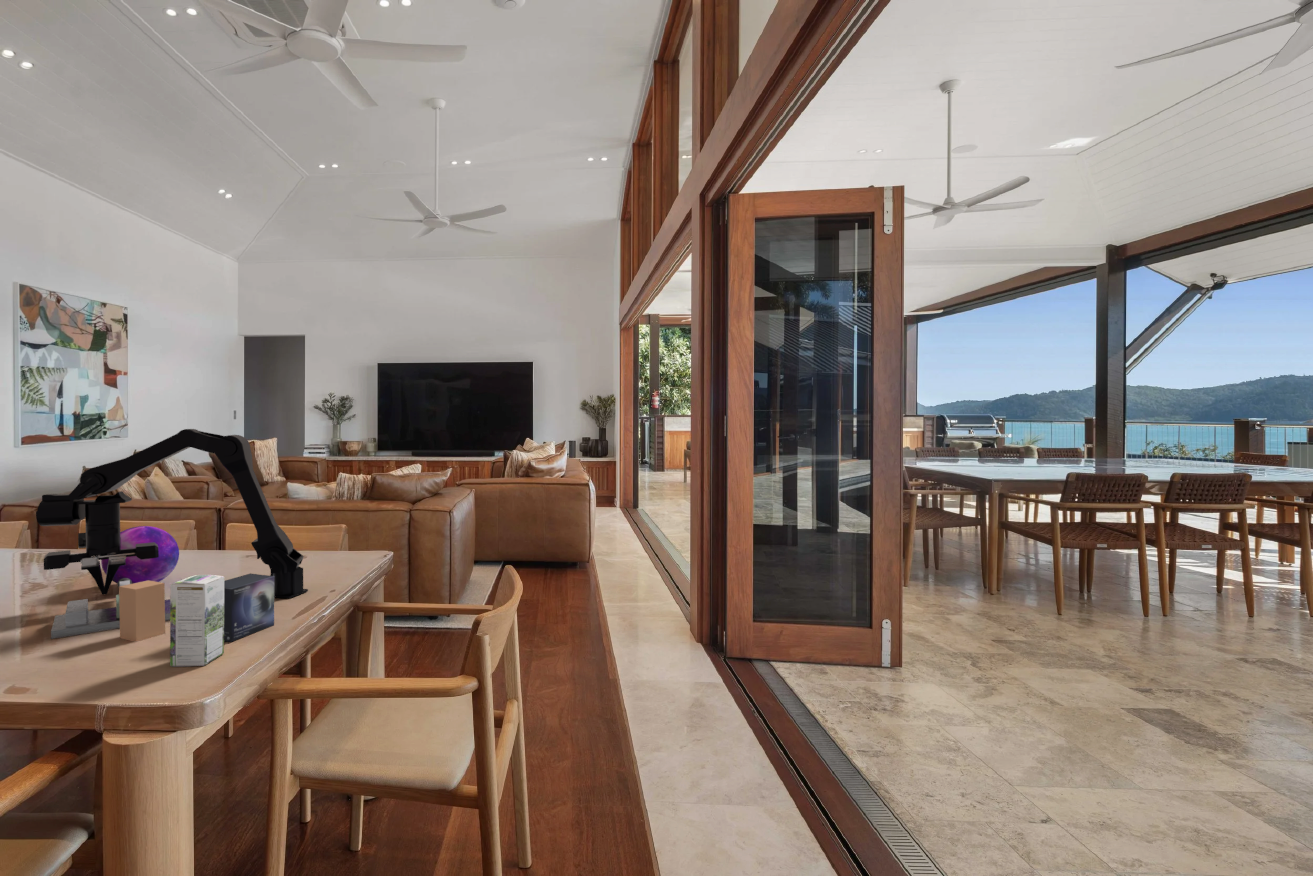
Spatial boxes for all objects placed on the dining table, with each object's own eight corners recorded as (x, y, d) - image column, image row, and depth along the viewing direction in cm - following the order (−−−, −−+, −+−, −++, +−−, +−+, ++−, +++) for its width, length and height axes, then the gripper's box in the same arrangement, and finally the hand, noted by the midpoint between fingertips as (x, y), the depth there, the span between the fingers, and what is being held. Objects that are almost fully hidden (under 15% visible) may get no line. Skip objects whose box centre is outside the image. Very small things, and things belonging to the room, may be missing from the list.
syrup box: (191, 654, 113) (190, 574, 113) (225, 654, 114) (224, 574, 113) (169, 667, 108) (168, 583, 107) (206, 666, 108) (204, 582, 108)
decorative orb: (190, 584, 159) (189, 525, 159) (115, 598, 147) (114, 534, 146) (164, 575, 167) (164, 519, 167) (91, 588, 155) (90, 527, 154)
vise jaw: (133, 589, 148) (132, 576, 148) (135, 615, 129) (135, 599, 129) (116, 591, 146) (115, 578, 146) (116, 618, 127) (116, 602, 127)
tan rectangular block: (148, 630, 126) (148, 580, 126) (165, 633, 124) (164, 583, 124) (120, 638, 121) (119, 586, 121) (136, 641, 119) (135, 589, 119)
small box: (232, 643, 119) (231, 588, 119) (203, 640, 121) (202, 586, 120) (276, 625, 130) (276, 574, 129) (249, 622, 131) (249, 572, 131)
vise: (188, 603, 144) (188, 584, 144) (193, 616, 135) (193, 596, 134) (55, 622, 129) (55, 602, 129) (51, 639, 120) (50, 616, 120)
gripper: (155, 515, 150) (156, 580, 151) (46, 523, 138) (48, 593, 139) (158, 521, 142) (159, 590, 142) (42, 530, 130) (44, 605, 130)
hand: (104, 594), depth 139 cm, fingers closed
